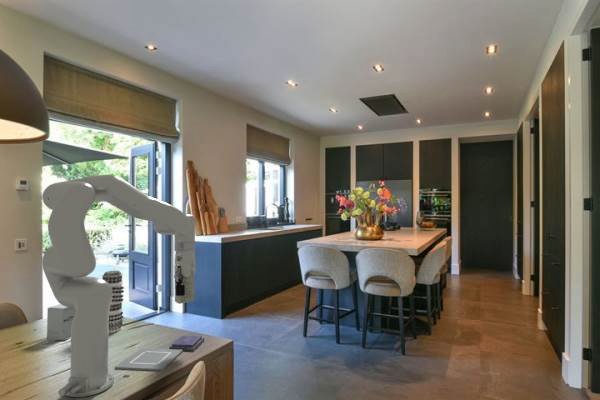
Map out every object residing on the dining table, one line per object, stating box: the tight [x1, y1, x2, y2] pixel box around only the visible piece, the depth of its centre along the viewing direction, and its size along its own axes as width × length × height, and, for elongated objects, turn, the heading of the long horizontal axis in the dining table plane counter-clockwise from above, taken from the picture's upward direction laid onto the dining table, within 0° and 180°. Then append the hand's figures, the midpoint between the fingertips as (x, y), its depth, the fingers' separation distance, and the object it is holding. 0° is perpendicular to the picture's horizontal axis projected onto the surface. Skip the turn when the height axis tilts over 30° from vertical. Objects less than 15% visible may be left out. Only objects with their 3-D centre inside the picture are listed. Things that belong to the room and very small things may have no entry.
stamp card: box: [114, 347, 184, 372], centre depth 124 cm, size 16×16×1 cm
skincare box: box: [174, 270, 195, 305], centre depth 138 cm, size 6×4×12 cm
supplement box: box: [46, 303, 76, 341], centre depth 147 cm, size 7×7×13 cm
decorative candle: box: [101, 270, 125, 334], centre depth 155 cm, size 9×9×25 cm
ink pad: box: [169, 335, 205, 352], centre depth 137 cm, size 10×9×2 cm
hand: (184, 292), depth 138 cm, fingers closed on skincare box, 7 cm apart
